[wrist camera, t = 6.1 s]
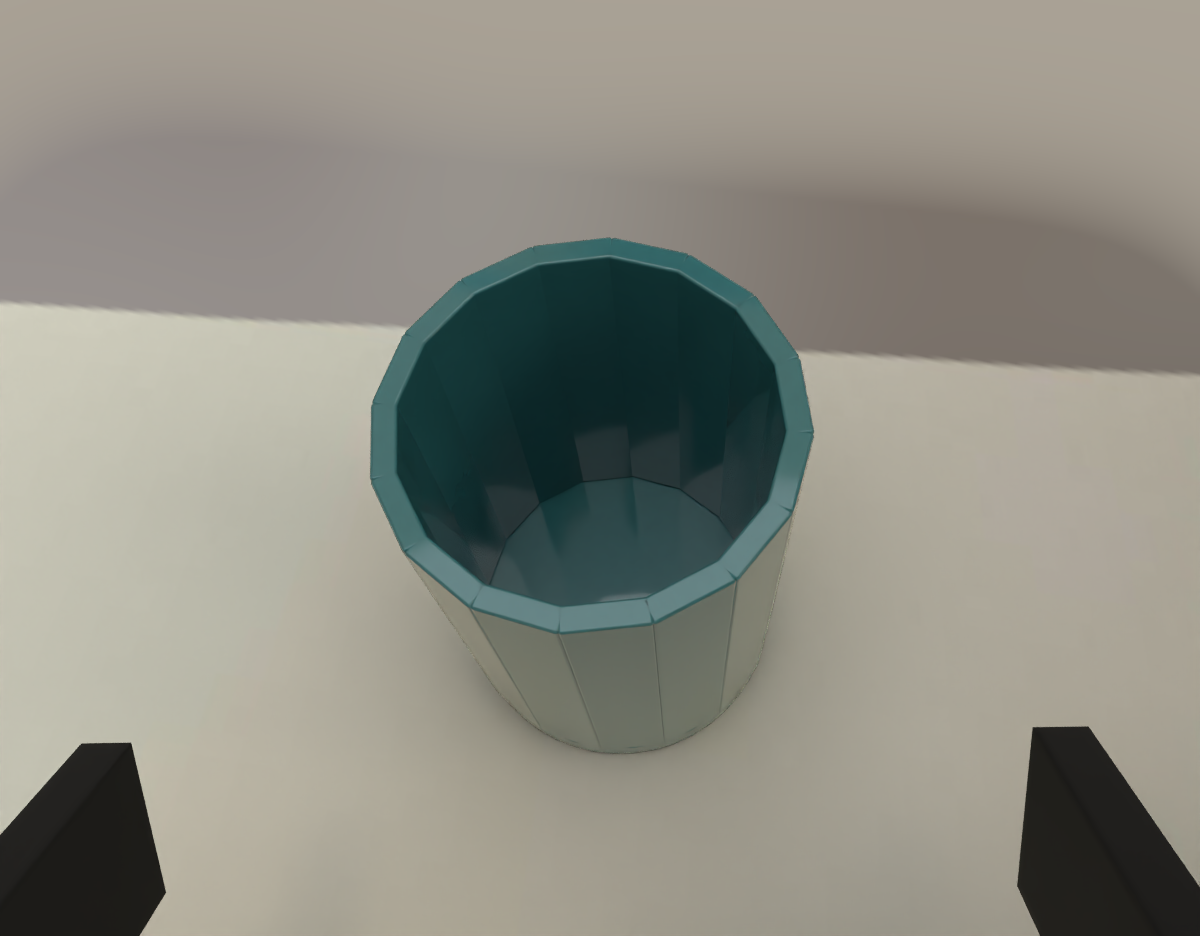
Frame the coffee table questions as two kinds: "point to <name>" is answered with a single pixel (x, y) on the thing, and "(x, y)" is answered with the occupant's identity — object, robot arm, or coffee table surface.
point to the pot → (598, 482)
